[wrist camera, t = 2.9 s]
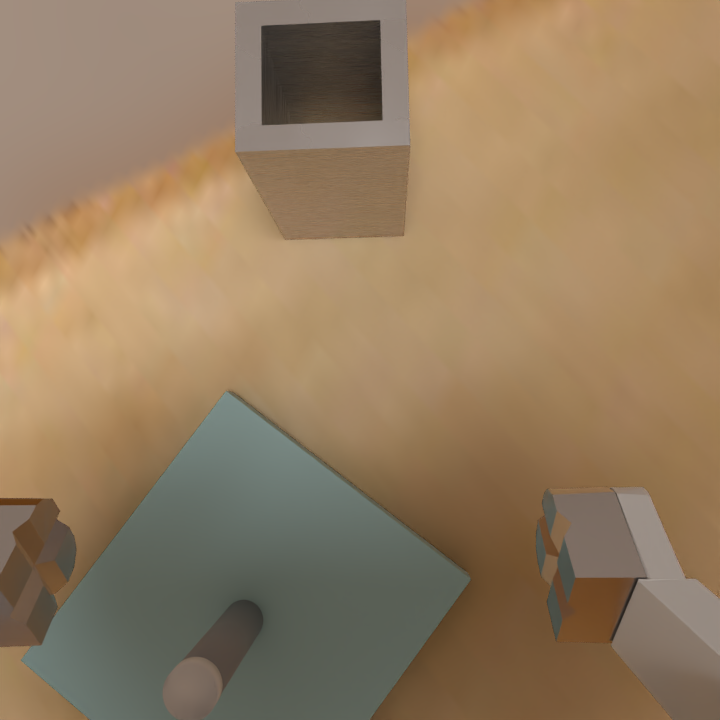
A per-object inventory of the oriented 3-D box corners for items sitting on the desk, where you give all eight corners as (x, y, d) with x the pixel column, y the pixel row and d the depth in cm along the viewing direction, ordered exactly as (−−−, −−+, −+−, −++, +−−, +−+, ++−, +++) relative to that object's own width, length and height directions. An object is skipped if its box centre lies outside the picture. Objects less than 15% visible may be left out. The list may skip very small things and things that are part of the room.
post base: (232, 392, 24) (169, 379, 17) (467, 572, 23) (501, 637, 16) (36, 650, 23) (-113, 746, 16) (268, 848, 22) (213, 1039, 15)
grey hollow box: (403, 235, 24) (409, 144, 16) (285, 239, 25) (235, 151, 17) (400, 131, 25) (406, -6, 17) (284, 136, 25) (235, 2, 17)
